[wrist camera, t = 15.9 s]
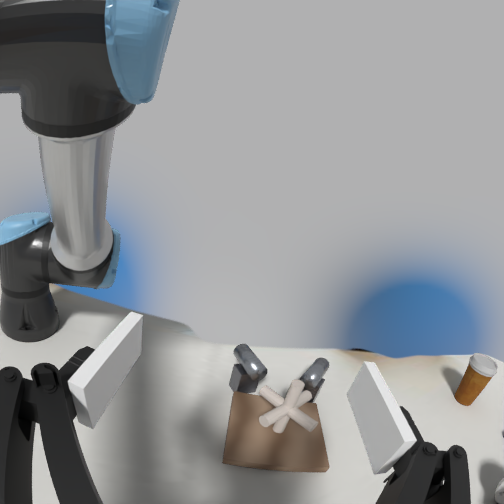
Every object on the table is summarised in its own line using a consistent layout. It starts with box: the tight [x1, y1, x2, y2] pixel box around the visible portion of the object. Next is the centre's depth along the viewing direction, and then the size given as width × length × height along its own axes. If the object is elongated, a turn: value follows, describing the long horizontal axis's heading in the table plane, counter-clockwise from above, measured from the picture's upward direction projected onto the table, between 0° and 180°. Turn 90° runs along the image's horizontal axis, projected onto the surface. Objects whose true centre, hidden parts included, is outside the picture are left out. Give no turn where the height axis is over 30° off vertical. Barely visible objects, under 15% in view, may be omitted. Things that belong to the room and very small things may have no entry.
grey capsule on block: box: [229, 344, 267, 393], centre depth 45 cm, size 7×4×8 cm, turn 28°
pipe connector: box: [259, 380, 318, 433], centre depth 34 cm, size 10×10×10 cm
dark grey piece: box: [300, 358, 329, 403], centre depth 45 cm, size 7×4×8 cm, turn 148°
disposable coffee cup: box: [455, 353, 498, 406], centre depth 45 cm, size 10×10×12 cm
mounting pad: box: [222, 391, 329, 472], centre depth 36 cm, size 15×15×2 cm
